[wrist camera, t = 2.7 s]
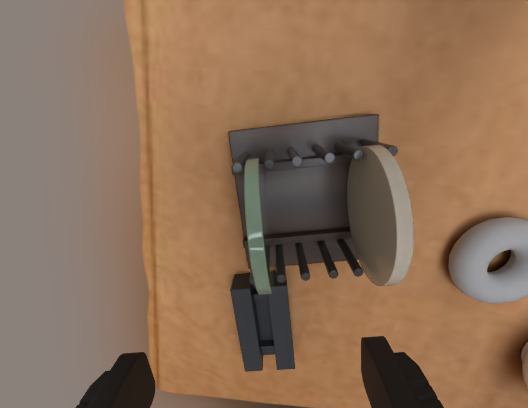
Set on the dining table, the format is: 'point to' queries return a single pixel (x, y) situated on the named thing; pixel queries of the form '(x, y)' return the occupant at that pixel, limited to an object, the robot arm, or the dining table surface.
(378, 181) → the cream plate
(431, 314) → the dining table surface
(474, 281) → the donut
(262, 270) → the sage plate
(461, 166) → the dining table surface
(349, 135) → the dish rack
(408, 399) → the robot arm
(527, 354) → the lidded bowl
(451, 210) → the dining table surface
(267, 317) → the plate stand
